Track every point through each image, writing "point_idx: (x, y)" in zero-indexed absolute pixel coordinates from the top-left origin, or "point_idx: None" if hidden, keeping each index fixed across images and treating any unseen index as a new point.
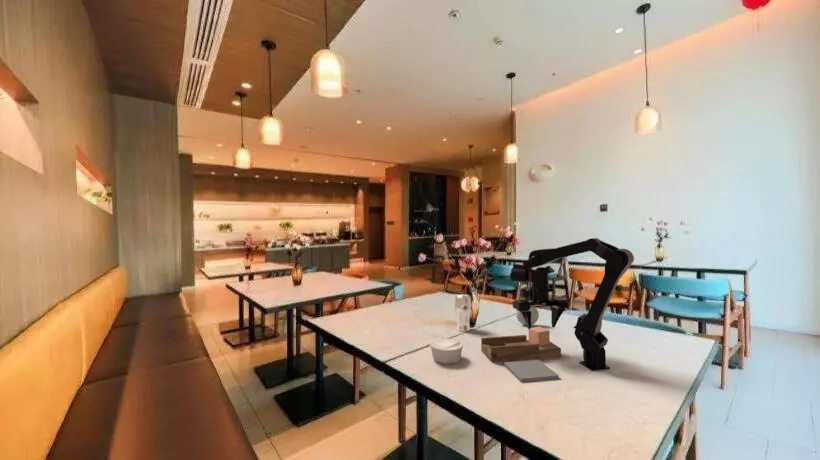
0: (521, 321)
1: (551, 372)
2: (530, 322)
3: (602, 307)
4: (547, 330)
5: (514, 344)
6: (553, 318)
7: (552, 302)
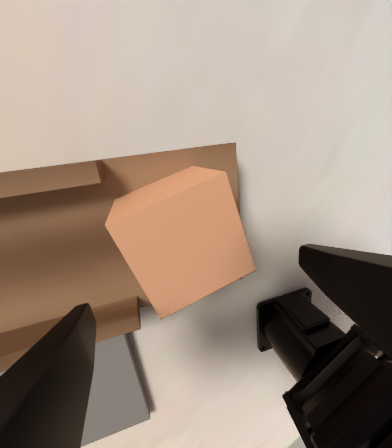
0: None
1: (134, 409)
2: (76, 429)
3: None
4: (243, 271)
5: (3, 241)
6: (375, 302)
7: None
